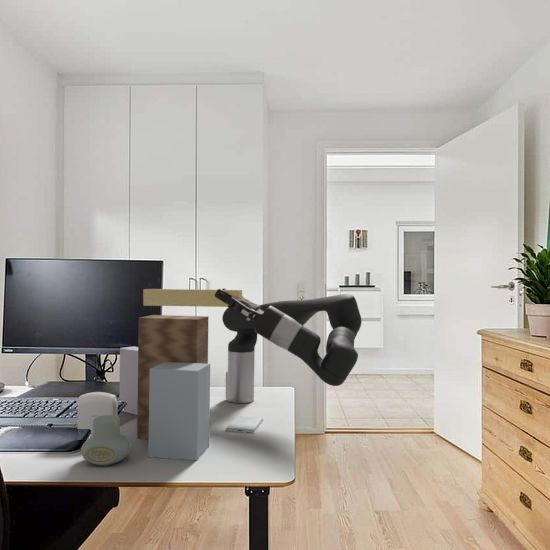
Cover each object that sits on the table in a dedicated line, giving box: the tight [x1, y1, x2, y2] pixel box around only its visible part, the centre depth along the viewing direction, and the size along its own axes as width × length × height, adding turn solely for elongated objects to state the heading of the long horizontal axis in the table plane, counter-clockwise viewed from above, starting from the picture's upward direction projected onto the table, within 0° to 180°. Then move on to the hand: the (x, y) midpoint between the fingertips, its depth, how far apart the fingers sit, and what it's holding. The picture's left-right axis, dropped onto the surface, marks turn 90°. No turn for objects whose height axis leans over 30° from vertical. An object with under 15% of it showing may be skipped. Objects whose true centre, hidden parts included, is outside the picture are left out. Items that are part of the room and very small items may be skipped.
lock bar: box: [142, 288, 243, 308], centre depth 129 cm, size 24×4×4 cm, turn 82°
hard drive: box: [225, 415, 264, 434], centre depth 151 cm, size 2×8×12 cm
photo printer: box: [76, 391, 118, 437], centre depth 136 cm, size 10×4×12 cm, turn 90°
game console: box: [118, 346, 138, 416], centre depth 159 cm, size 6×27×20 cm, turn 53°
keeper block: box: [148, 362, 211, 461], centre depth 128 cm, size 12×10×21 cm
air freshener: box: [80, 415, 132, 467], centre depth 121 cm, size 11×8×10 cm
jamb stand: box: [136, 314, 209, 442], centre depth 140 cm, size 16×10×32 cm, turn 81°
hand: (219, 291), depth 128 cm, fingers closed on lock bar, 4 cm apart
